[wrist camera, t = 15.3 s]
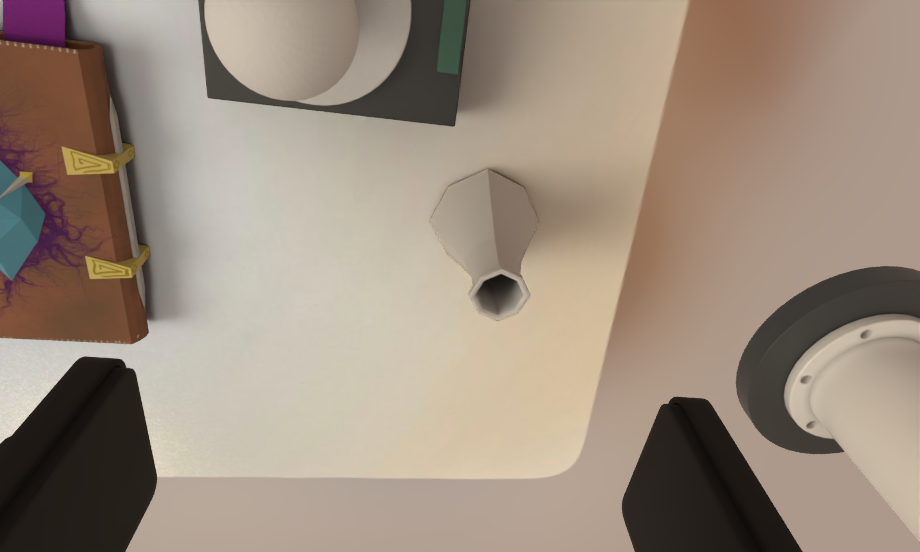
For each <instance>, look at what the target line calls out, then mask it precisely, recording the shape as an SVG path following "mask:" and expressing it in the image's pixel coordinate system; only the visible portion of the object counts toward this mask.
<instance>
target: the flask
mask: <svg viewBox="0 0 920 552" xmlns="http://www.w3.org/2000/svg"><path fill="white" fill-rule="evenodd" d="M430 223H431V225H432V227H433V229H434V231H435V233H436V234H437V236H438V238H439V240H440V242H441V244H442V245H443V247H444V249H445V251H446V253H447V254H448V255H449V256H450V257H451V258H452V259H453V260H454V261H455V262H457V263H458V264H459V265H460V266H461V267H462V268H463V269H464V270H465V271H466V272H467V273H468V274H469V275H470V276H471V277H472V283H473V286H472V288H471V289H470V291H469V293H468V295H469V297H470V299H471V301H472V303H473V305H474V306H475V308H476V310H477V312H478V313H479V314H482V315H484V316H486V317H489V318H491V319H493V320H496V321H500V320H502V319H505V318H507V317H510V316H512V315H515V314H517V313H519V311H520V310H521V309H522V307H523V306H524V304H525V303H526V301H527V300H528V299H529V297H530V293H529V291H528V289H527V286H526V284H525V282H524V280H523V278H522V276H521V275H520V270H521V261H522V259H523V256H524V254H525V252H526V249H527V247H528V244H529V242H530V240H531V238H532V236H533V234H534V232H535V230H536V228H537V226H538V224H539V221H538V218H537V216H536V214H535V211H534V209H533V207H532V204H531V202H530V200H529V197H528V195H527V193H526V190H525V188H524V187H522V186H520V185H518V184H516V183H515V182H513V181H511V180H509V179H507V178H505V177H503V176H501V175H499V174H497V173H495V172H493V171H491V170H489V169H486V170H484V171H482V172H479V173H477V174H475V175H473V176H471V177H468V178H466V179H464V180H462V181H460V182H457V183H455V184H453V185H451V186H449V187H448V188H447V190H446V192H445V194H444V196H443V198H442V199H441V201H440V203H439V205H438V207H437V208H436V210H435V212H434V214H433V216H432V217H431V219H430Z"/></svg>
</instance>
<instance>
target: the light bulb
mask: <svg viewBox="0 0 920 552" xmlns="http://www.w3.org/2000/svg"><path fill="white" fill-rule="evenodd" d="M204 8H205V22H206V29H207V32H208V36H209V39H210V42H211V44H212V46H213V48H214V51H215V53H216V54H217V56H218V58H219V59H220V61H221V62H222V64H223V65H224V66H225V67H226V69H227V70H228V71H229V72H230V73H231V74H232V75H233V76H234V77H235V78H236V79H237V80H238V81H239V82H241V83H242V84H243V85H245V86H246V87H248V88H249V89H251V90H253V91H255V92H257V93H259V94H261V95H264V96H266V97H269V98H273V99H278V100H285V101H297V100H305V99H309V98H312V97H316V96H318V95H320V94H322V93H324V92H326V91H328V90H329V89H330V88H332V87H333V86H334V85H336V84H337V83H338V82H339V81H340V79H341V78H342V77H343V76H344V75H345V73H346V72H347V70H348V69H349V68H350V65H351V63H352V61H353V59H354V57H355V53H356V50H357V46H358V38H359V20H358V14H357V9H356V6H355V3H354V0H205V4H204Z"/></svg>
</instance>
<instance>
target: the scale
mask: <svg viewBox="0 0 920 552" xmlns="http://www.w3.org/2000/svg"><path fill="white" fill-rule="evenodd" d="M198 1H199V12H200V22H201V33H202V43H203V54H204V65H205V75H206V86H207V96H208V98H212V99H221V100H229V101H238V102H246V103H255V104H264V105H272V106H281V107H290V108H298V109H307V110H316V111H324V112H333V113H341V114H350V115H359V116H367V117H376V118H385V119H393V120H402V121H411V122H419V123H428V124H436V125H445V126H455V121H456V113H457V105H458V97H459V89H460V80H461V72H462V64H463V56H464V48H465V40H466V32H467V24H468V16H469V8H470V0H354V3H355V6H356V9H357V14H358V20H359V38H358V46H357V50H356V53H355V57H354V59H353V61H352V63H351V65H350V68H349V69H348V70H347V72H346V73H345V75H344V76H343V77H342V78H341V79H340V81H339V82H338V83H337V84H336V85H334V86H333V87H332V88H330V89H329V90H328V91H326V92H324V93H322V94H320V95H318V96H316V97H312V98H309V99H305V100H297V101H285V100H278V99H273V98H269V97H266V96H264V95H261V94H259V93H257V92H255V91H253V90H251V89H249V88H248V87H246V86H245V85H243V84H242V83H241V82H239V81H238V80H237V79H236V78H235V77H234V76H233V75H232V74H231V73H230V72H229V71H228V70H227V69H226V67H225V66H224V65H223V64H222V62H221V61H220V59H219V58H218V56H217V54H216V53H215V51H214V48H213V46H212V44H211V42H210V39H209V36H208V32H207V29H206V22H205V8H204V4H205V0H198Z"/></svg>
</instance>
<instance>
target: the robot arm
mask: <svg viewBox="0 0 920 552" xmlns="http://www.w3.org/2000/svg"><path fill="white" fill-rule="evenodd" d="M784 401H785V406H786V408H787V410H788V413H789V415H790V416H791V417H792V418H793V419H794V421H795V422H796V423H797V425H798V426H800V427H801V428H802V429H803V430H804V431H806V432H808V433H811V434H813V435H815V436H819V437H823V438H831V439H835V440H836V442H837V443H838V444H839V445H840V447H841V448H842V449H843V450H844V451H845V453H846V454H847V455H848V456H849V457H850V458H851V460H852V461H853V462H854V463H855V465H856V466H857V467H858V468H859V469H860V471H861V472H862V473H863V474H864V476H865V477H866V478H867V479H868V480H869V481H870V483H871V484H872V485H873V486H874V488H875V489H876V490H877V491H878V492H879V494H880V495H881V496H882V497H883V498H884V500H886V502H887V503H888V504H889V505H890V507H891V508H892V509H893V511H894V512H895V513H896V514H897V515H898V517H899V518H900V519H901V520H902V521H903V523H904V524H905V525H906V526H907V527H908V529H909V530H910V531H911V532H912V533H913V535H914V536H915V537H916V538H917V540H918V541H919V542H920V318H917V317H914V316H910V315H905V314H882V315H875V316H871V317H866V318H862V319H859V320H856V321H854V322H851V323H848V324H846V325H844V326H842V327H840V328H838V329H836V330H834V331H832V332H830V333H829V334H827V335H826V336H824V337H823V338H821V339H820V340H818V341H817V342H816V343H815V344H814V345H813V346H811V347H810V348H809V349H808V350H807V351H806V352H805V353H804V354H803V355H802V356H801V358H800V359H799V360H798V361H797V362H796V364H795V366H794V367H793V369H792V371H791V372H790V374H789V376H788V379H787V382H786V384H785V390H784ZM156 483H157V474H156V469H155V464H154V459H153V454H152V450H151V445H150V440H149V435H148V430H147V425H146V421H145V416H144V411H143V406H142V401H141V396H140V392H139V387H138V382H137V377H136V373H135V371H134V370H133V369H131V368H126V365H125V363H124V362H123V361H122V360H121V359H114V358H99V357H82V358H79V359H78V360H77V361H76V362H75V363H74V364H73V365H72V367H71V368H70V369H69V370H68V371H67V372H66V373H65V375H64V376H63V377H62V378H61V379H60V380H59V382H58V383H57V384H56V385H55V386H54V387H53V389H52V390H51V391H50V392H49V393H48V394H47V395H46V397H45V398H44V399H43V400H42V401H41V402H40V404H39V405H38V406H37V407H36V408H35V409H34V411H33V412H32V413H31V414H30V415H29V416H28V417H27V419H26V420H25V421H24V422H23V423H22V424H21V426H20V427H19V428H18V429H17V430H16V431H15V433H14V434H13V435H12V436H10V437H8V438H6V439H5V440H4V441H3V442H2V443H1V444H0V552H125V551H126V549H127V547H128V545H129V543H130V541H131V539H132V537H133V535H134V533H135V531H136V529H137V527H138V525H139V524H140V522H141V519H142V518H143V516H144V514H145V512H146V510H147V508H148V506H149V504H150V501H151V500H152V497H153V495H154V492H155V489H156ZM622 513H623V517H624V521H625V524H626V527H627V530H628V533H629V536H630V539H631V541H632V544H633V548H634V550H635V552H802V550H801V549H800V547H799V545H798V544H797V542H796V540H795V539H794V537H793V536H792V534H791V532H790V531H789V529H788V528H787V526H786V524H785V523H784V521H783V520H782V518H781V516H780V515H779V513H778V512H777V510H776V508H775V507H774V505H773V503H772V502H771V500H770V498H769V497H768V495H767V494H766V492H765V490H764V489H763V487H762V486H761V484H760V482H759V481H758V479H757V477H756V476H755V475H754V473H753V471H752V470H751V468H750V466H749V465H748V463H747V461H746V460H745V458H744V456H743V455H742V453H741V452H740V450H739V449H738V447H737V445H736V444H735V442H734V440H733V439H732V437H731V436H730V434H729V432H728V431H727V429H726V427H725V426H724V424H723V423H722V421H721V419H720V418H719V416H718V415H717V413H716V411H715V410H714V408H713V406H712V405H711V404H710V402H709V401H708V400H706V399H701V398H686V397H673V398H672V399H671V400H670V401H669V403H668V404H663V405H662V406H661V407H660V409H659V412H658V414H657V416H656V419H655V422H654V424H653V427H652V429H651V431H650V433H649V436H648V439H647V441H646V443H645V446H644V448H643V451H642V453H641V455H640V458H639V461H638V463H637V465H636V468H635V470H634V472H633V475H632V477H631V480H630V482H629V485H628V487H627V490H626V492H625V494H624V497H623V501H622Z"/></svg>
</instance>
